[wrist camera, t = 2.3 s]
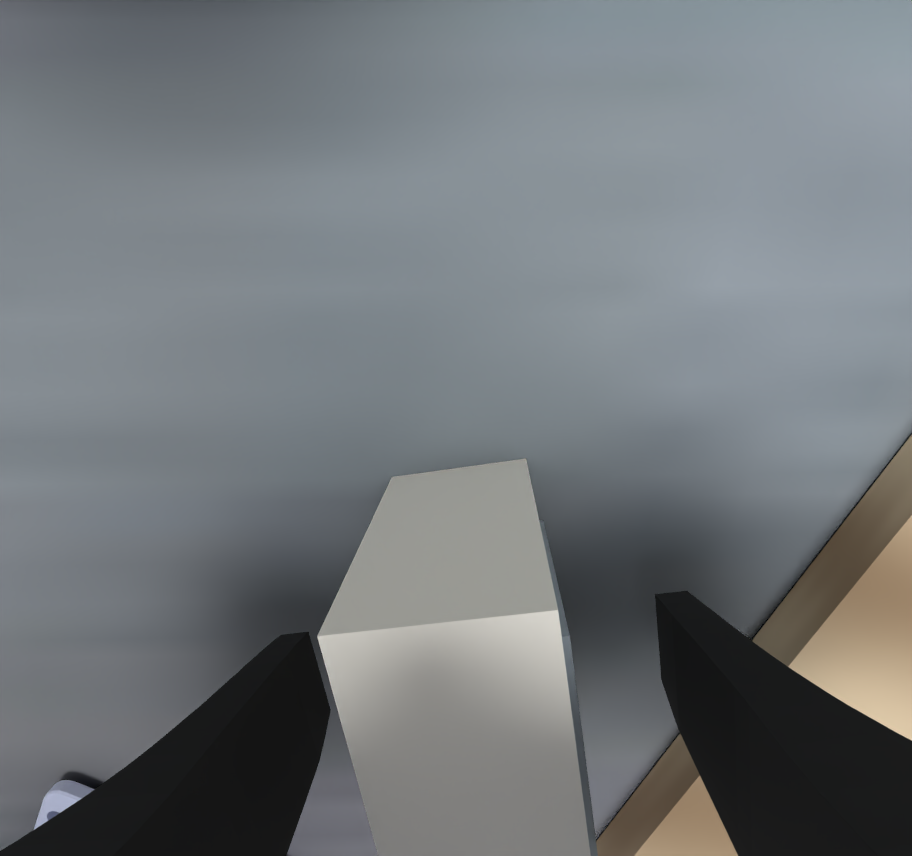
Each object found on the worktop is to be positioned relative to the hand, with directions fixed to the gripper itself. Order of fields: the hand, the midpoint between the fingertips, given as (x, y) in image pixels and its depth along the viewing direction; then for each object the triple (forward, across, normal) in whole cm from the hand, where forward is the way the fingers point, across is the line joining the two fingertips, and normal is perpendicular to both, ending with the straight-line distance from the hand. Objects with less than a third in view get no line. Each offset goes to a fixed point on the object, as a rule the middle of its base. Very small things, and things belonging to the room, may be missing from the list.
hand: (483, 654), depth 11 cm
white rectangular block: (+2, 0, 0) cm, 2 cm away
